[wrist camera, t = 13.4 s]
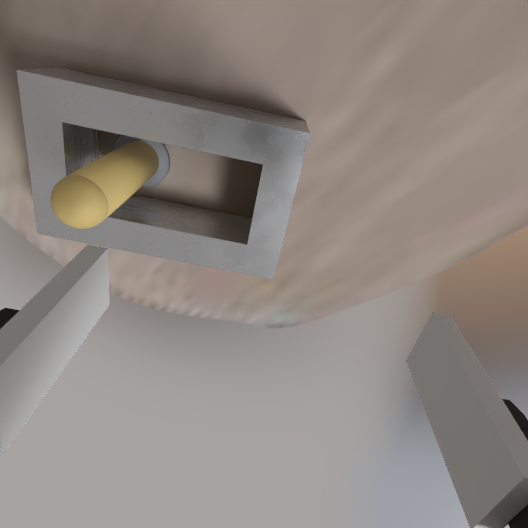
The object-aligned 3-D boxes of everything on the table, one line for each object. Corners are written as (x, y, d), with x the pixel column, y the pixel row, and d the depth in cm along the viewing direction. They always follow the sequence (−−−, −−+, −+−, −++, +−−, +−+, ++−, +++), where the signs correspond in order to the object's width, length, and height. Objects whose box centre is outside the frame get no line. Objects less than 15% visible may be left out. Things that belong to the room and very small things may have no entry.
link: (71, 209, 32) (37, 233, 27) (61, 67, 26) (16, 69, 22) (275, 249, 32) (273, 279, 28) (305, 121, 27) (309, 133, 23)
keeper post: (114, 124, 28) (19, 161, 18) (171, 136, 28) (108, 179, 18) (114, 179, 30) (30, 240, 20) (168, 190, 30) (110, 256, 20)
